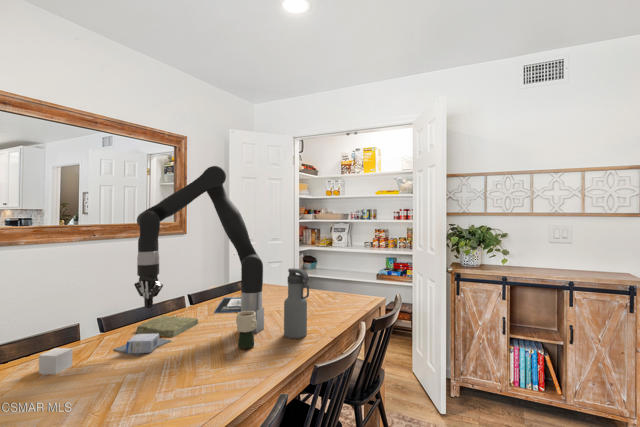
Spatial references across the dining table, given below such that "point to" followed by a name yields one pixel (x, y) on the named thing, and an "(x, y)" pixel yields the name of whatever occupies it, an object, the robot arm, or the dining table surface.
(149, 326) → the folded green cloth
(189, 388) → the dining table surface
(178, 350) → the dining table surface
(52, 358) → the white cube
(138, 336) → the medicine box
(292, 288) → the water bottle
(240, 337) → the character mug
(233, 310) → the sketchbook
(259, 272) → the robot arm
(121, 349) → the mat
